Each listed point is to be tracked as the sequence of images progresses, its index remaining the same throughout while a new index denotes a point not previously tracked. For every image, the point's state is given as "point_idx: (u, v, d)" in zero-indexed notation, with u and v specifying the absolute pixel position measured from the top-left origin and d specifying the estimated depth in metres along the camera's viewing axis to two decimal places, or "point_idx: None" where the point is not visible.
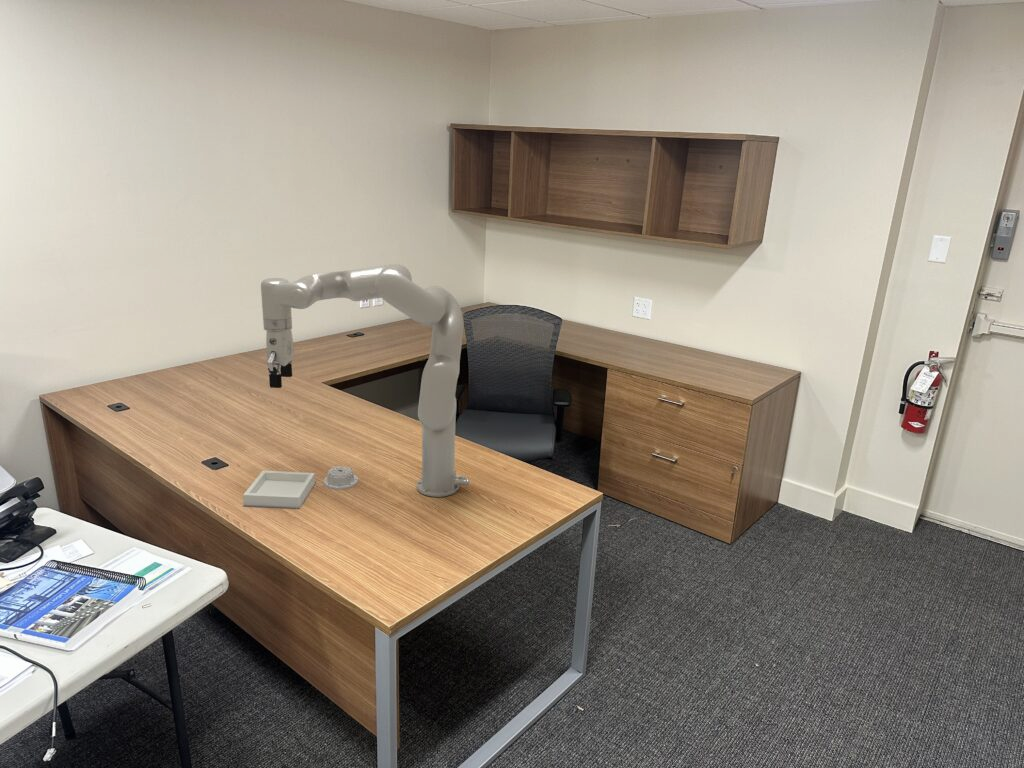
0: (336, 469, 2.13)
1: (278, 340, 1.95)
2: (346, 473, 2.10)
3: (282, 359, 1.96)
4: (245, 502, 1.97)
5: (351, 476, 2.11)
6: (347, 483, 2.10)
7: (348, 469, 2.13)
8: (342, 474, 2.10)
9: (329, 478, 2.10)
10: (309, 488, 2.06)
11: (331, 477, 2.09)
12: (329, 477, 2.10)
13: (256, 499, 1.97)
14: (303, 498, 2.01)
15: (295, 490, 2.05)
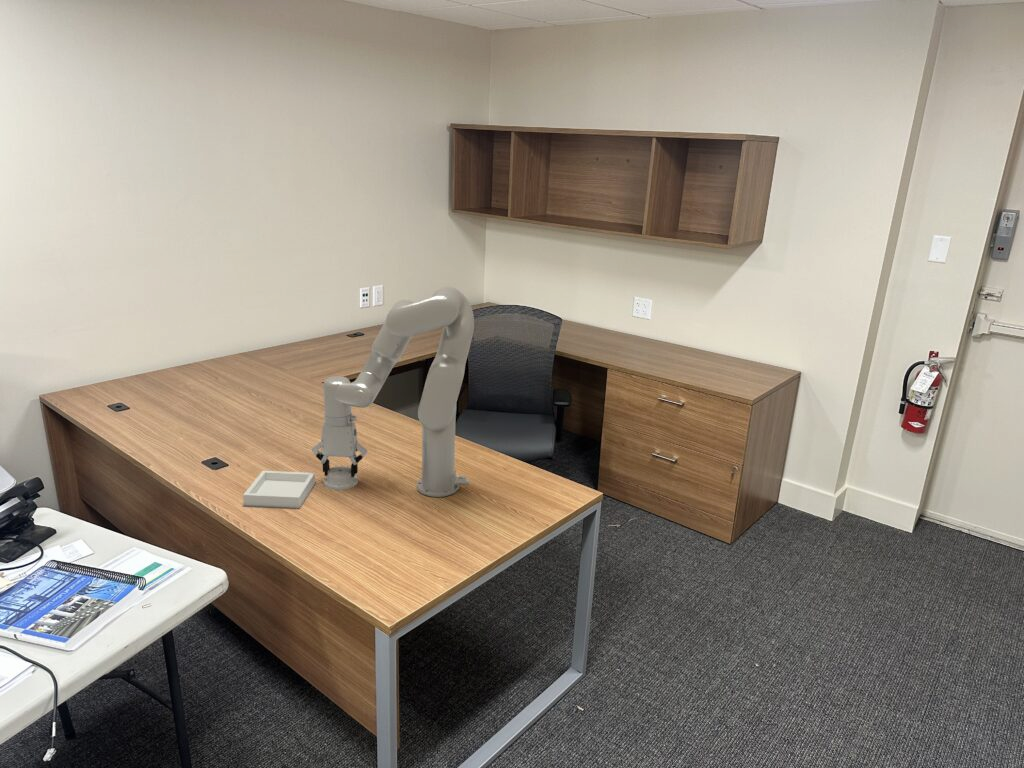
0: (336, 469, 2.12)
1: None
2: (346, 473, 2.10)
3: None
4: (245, 502, 1.97)
5: None
6: (347, 483, 2.10)
7: (348, 469, 2.13)
8: (342, 474, 2.09)
9: (329, 478, 2.10)
10: (309, 488, 2.06)
11: (331, 477, 2.09)
12: (329, 477, 2.09)
13: (256, 499, 1.97)
14: (303, 498, 2.01)
15: (295, 490, 2.05)
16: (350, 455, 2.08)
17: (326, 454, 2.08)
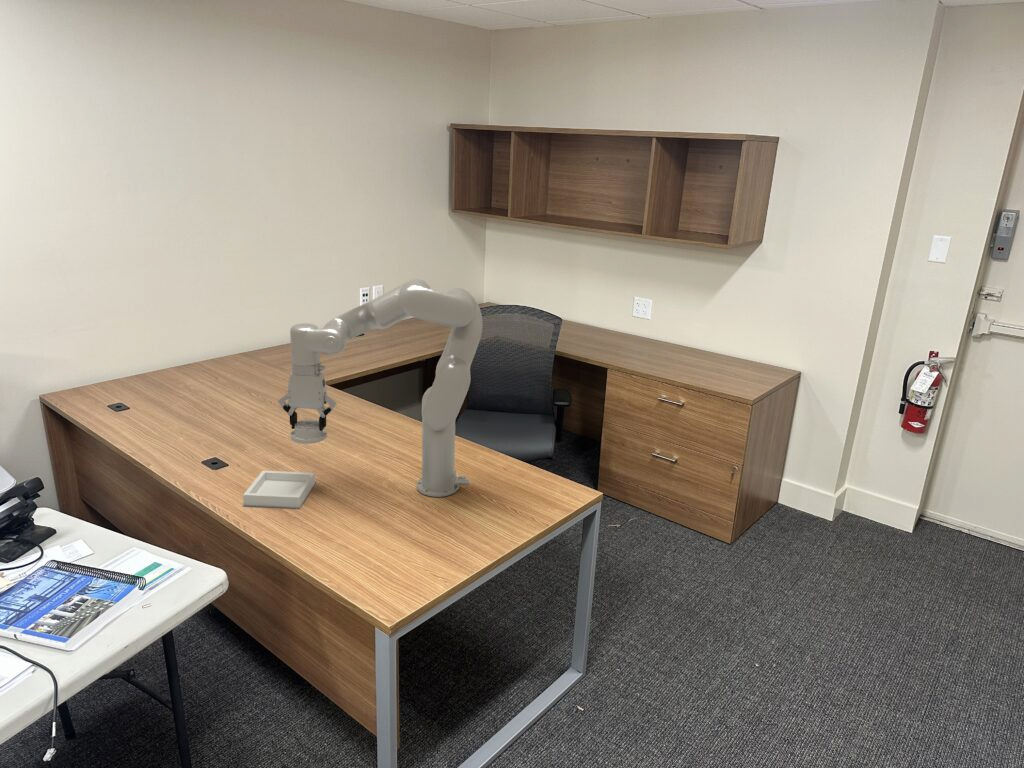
0: (304, 422, 2.03)
1: None
2: (314, 426, 2.01)
3: None
4: (245, 502, 1.97)
5: None
6: (315, 436, 2.01)
7: (316, 422, 2.03)
8: (310, 427, 2.00)
9: (296, 430, 2.00)
10: (309, 488, 2.06)
11: (298, 429, 2.00)
12: (296, 429, 2.00)
13: (256, 499, 1.97)
14: (303, 498, 2.01)
15: (295, 490, 2.05)
16: (318, 407, 1.99)
17: (293, 405, 1.99)
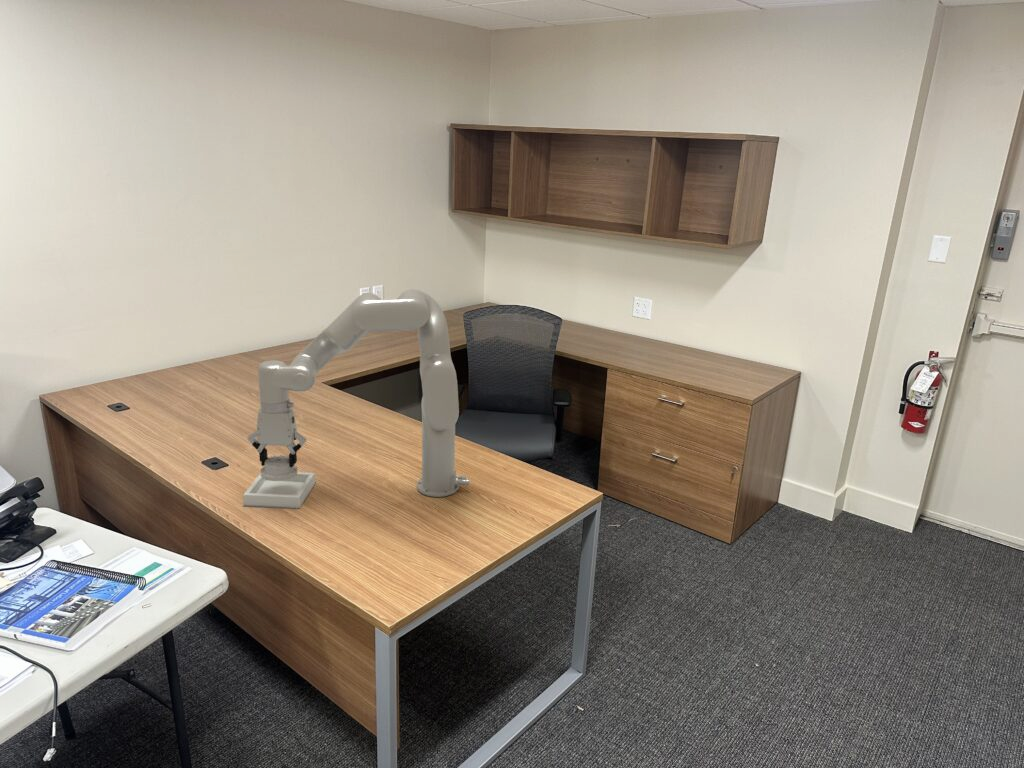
0: (274, 458, 2.02)
1: (294, 416, 1.99)
2: (284, 462, 2.00)
3: None
4: (245, 502, 1.97)
5: (289, 466, 2.00)
6: (285, 473, 1.99)
7: (287, 458, 2.02)
8: (279, 463, 1.99)
9: (266, 467, 1.99)
10: (309, 488, 2.06)
11: (268, 466, 1.98)
12: (266, 466, 1.99)
13: (256, 499, 1.97)
14: (303, 498, 2.01)
15: (295, 490, 2.05)
16: (288, 444, 1.97)
17: (262, 443, 1.97)
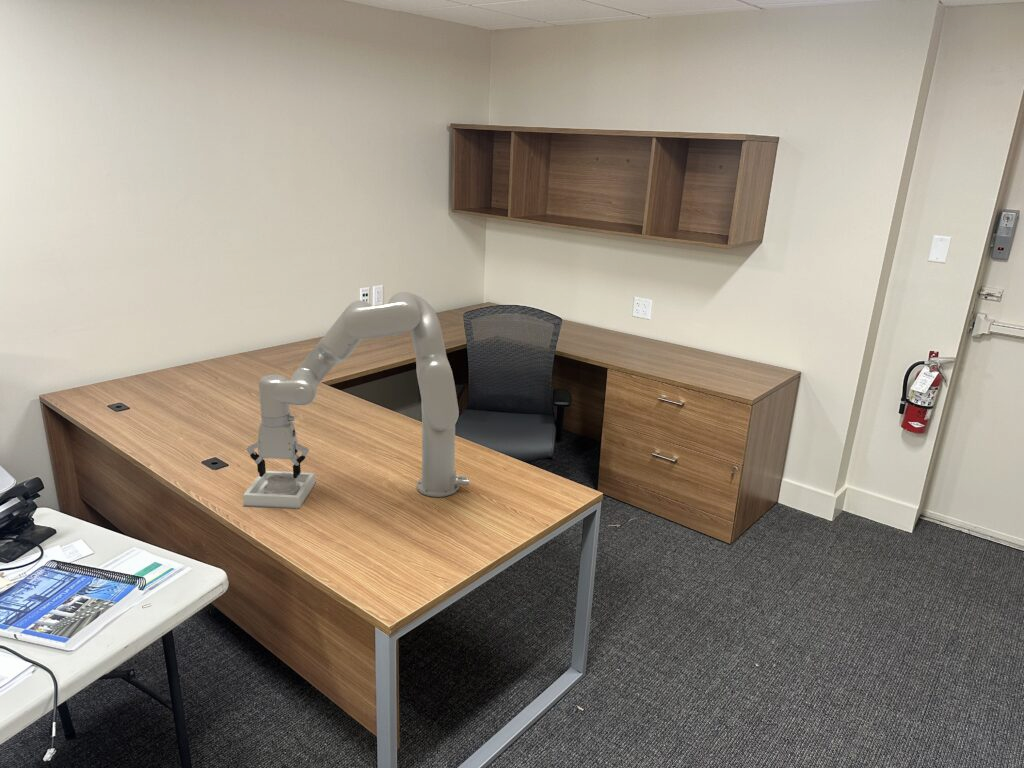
0: (277, 476, 2.04)
1: None
2: (287, 480, 2.01)
3: None
4: (245, 502, 1.97)
5: (292, 483, 2.02)
6: (288, 490, 2.01)
7: (289, 476, 2.04)
8: (282, 481, 2.01)
9: (269, 485, 2.01)
10: (309, 488, 2.06)
11: (271, 484, 2.00)
12: (269, 484, 2.01)
13: (256, 499, 1.97)
14: (303, 498, 2.01)
15: None
16: (288, 457, 1.99)
17: (263, 456, 1.99)
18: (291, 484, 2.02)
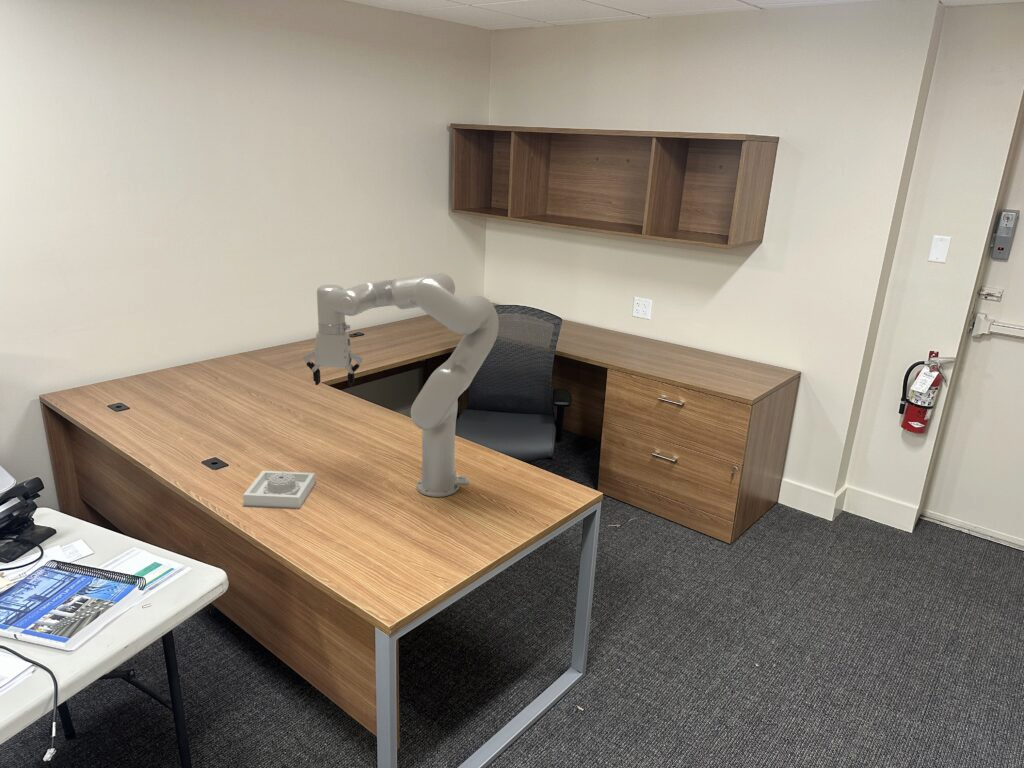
0: (276, 476, 2.03)
1: (349, 339, 2.09)
2: (287, 480, 2.01)
3: None
4: (245, 502, 1.97)
5: (292, 483, 2.02)
6: (288, 490, 2.01)
7: (289, 476, 2.04)
8: (283, 481, 2.01)
9: (269, 486, 2.01)
10: (309, 488, 2.06)
11: (271, 484, 2.00)
12: (269, 484, 2.01)
13: (256, 499, 1.97)
14: (303, 498, 2.01)
15: None
16: (344, 365, 2.08)
17: (320, 364, 2.08)
18: (291, 484, 2.02)
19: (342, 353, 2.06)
